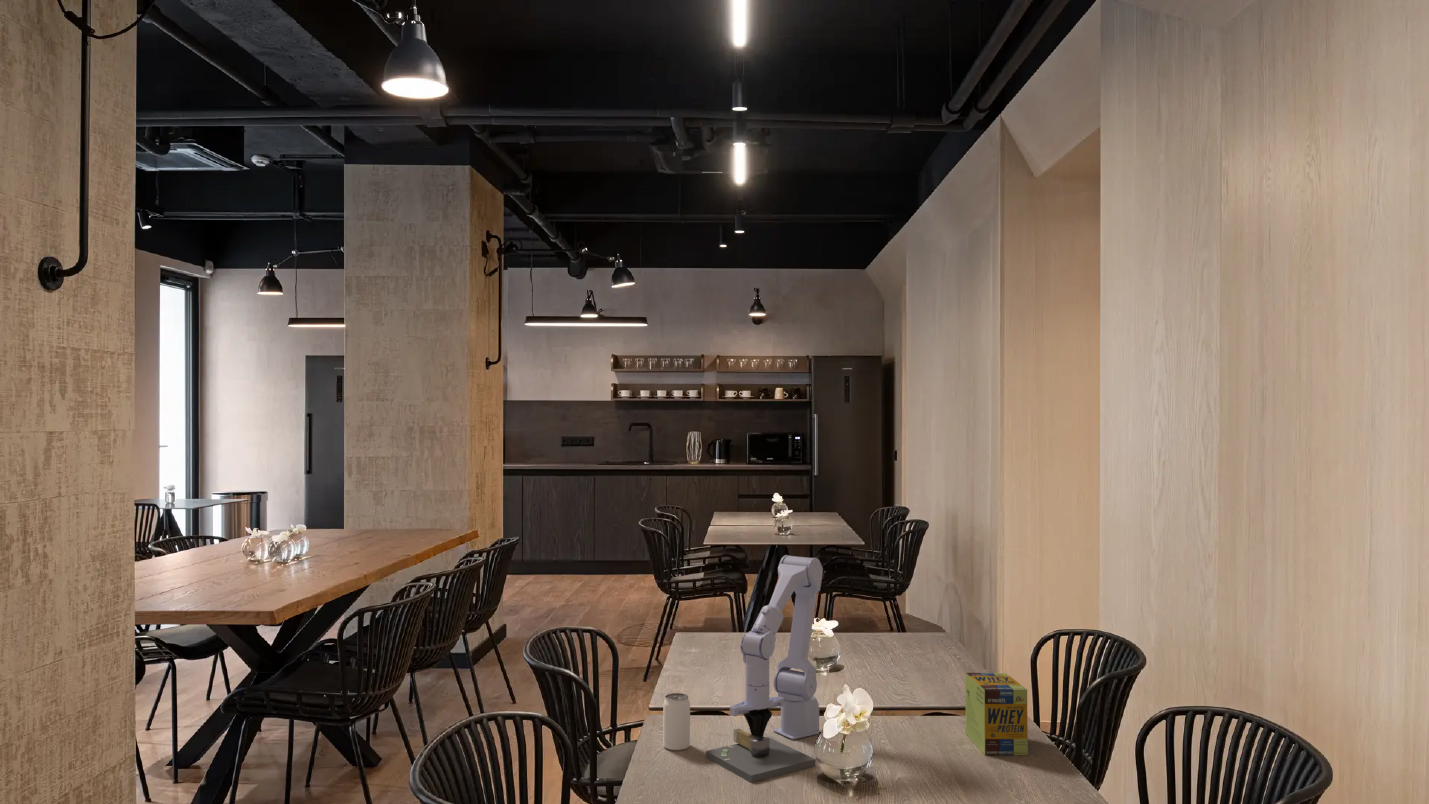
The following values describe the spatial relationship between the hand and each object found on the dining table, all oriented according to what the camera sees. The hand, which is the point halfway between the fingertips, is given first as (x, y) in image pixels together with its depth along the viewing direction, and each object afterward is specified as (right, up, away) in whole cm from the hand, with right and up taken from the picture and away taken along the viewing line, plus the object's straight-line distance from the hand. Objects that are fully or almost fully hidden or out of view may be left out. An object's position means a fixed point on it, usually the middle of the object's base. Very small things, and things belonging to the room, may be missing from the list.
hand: (757, 741), depth 215 cm
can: (-19, -3, +4) cm, 20 cm away
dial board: (0, -3, -6) cm, 6 cm away
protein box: (+58, -3, +6) cm, 59 cm away
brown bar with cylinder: (-2, -1, -3) cm, 3 cm away
